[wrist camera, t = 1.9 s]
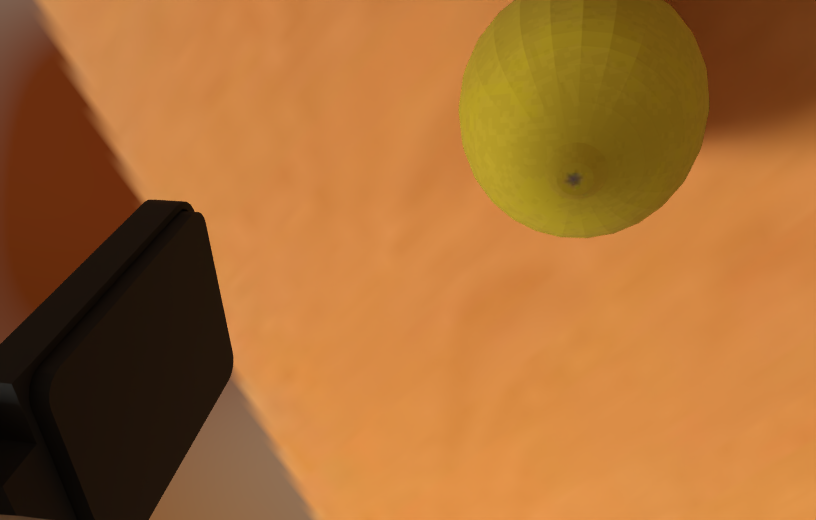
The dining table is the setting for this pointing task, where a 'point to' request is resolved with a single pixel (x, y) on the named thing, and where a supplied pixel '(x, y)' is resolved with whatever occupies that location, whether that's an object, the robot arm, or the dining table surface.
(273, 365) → the dining table surface
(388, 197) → the dining table surface
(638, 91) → the lemon
